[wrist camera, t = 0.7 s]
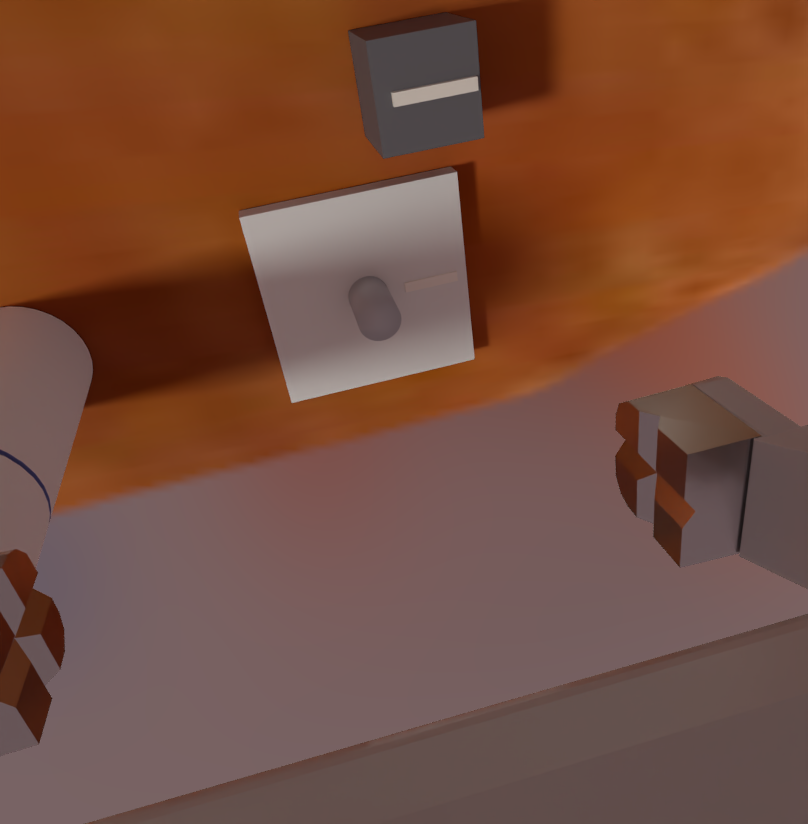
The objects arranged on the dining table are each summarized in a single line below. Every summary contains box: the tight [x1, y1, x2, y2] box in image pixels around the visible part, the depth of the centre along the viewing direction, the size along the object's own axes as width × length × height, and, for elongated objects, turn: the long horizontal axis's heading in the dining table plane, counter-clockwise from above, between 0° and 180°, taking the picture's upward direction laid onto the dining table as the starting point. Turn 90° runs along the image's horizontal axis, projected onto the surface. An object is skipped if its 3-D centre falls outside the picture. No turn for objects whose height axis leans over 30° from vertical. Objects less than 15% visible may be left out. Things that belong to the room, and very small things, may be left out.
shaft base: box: [239, 167, 475, 403], centre depth 40 cm, size 12×12×5 cm
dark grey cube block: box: [348, 12, 484, 159], centre depth 34 cm, size 5×5×5 cm
